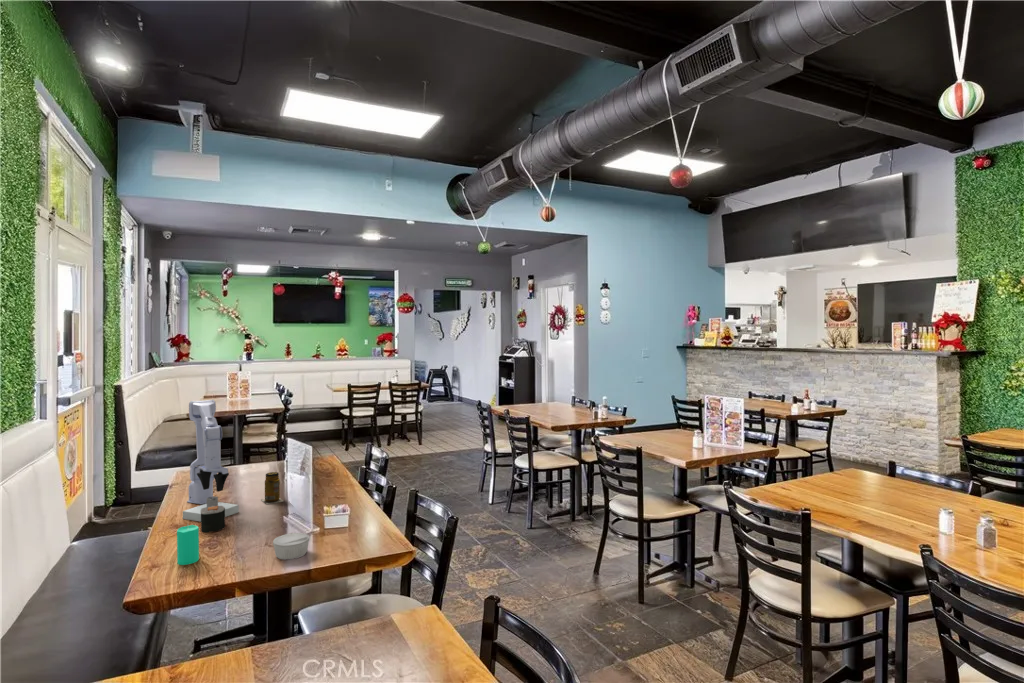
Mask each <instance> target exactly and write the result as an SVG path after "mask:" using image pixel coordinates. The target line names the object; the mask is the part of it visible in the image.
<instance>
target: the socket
mask: <svg viewBox="0 0 1024 683" xmlns="http://www.w3.org/2000/svg"><path fill="white" fill-rule="evenodd" d="M218 506H223V507H225V518H226V517H229V516H231V515H235V514H237V513H239V511H240V510H239V508H240V506H239V504H236V503H235V504H234V503H227V502H220V501H218ZM206 507H207V503H205V504H200V505H198V506H195V507H191V508H187V509H185V510H183V511H182V519H183V520H186V521H187V520H188V521H194V522H200V523H201V513H200V512H201V509H203V508H206Z"/></svg>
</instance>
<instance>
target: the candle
mask: <svg viewBox="0 0 1024 683" xmlns="http://www.w3.org/2000/svg"><path fill="white" fill-rule="evenodd" d="M199 528H200V527H199V526H198V525H196V524H195V525H194V524H190V525H189V524H188V525H186V526H181V527H178V528H177V529H176V553H177V554H176V561H177V565H180V566H185V565H186V566H187V565H190V564H194V563H197V562H198V561H199V560H200V534H199V533H200V532H199V531H200V530H199Z"/></svg>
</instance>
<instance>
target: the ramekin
mask: <svg viewBox="0 0 1024 683" xmlns="http://www.w3.org/2000/svg"><path fill="white" fill-rule="evenodd" d="M309 542H310V535H309V534H308V533H304V532H292V533H286V534H283V535H279V536H276V537H275V538H274V539H273V540H272V545H273V548H274V555H275V557H276V558H277V559H280V560H285V561H286V559H290V560H295V559H294V558H296V559H298V557H299V558H301V557H303V556H305V554H306V553H307V552H308V547H309Z"/></svg>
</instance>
